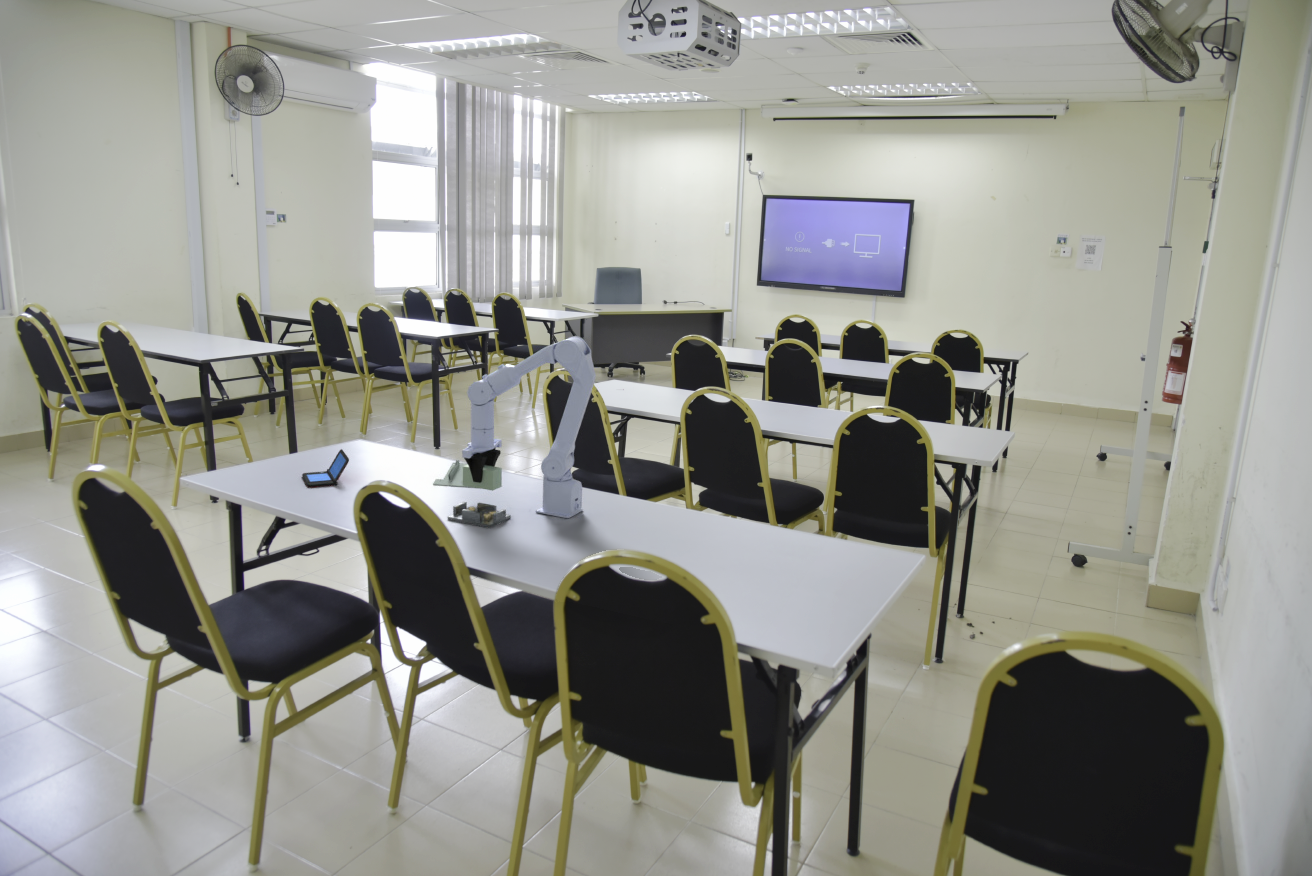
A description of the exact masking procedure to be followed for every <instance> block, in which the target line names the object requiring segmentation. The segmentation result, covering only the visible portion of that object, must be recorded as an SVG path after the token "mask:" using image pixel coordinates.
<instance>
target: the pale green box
mask: <svg viewBox="0 0 1312 876" xmlns="http://www.w3.org/2000/svg"><path fill="white" fill-rule="evenodd" d="M502 472H503V469H502V467H499V466H498V467H497V466H495V467H493V466H487V465H484V467H483V477H482V482H481V483H478V482H473V479H472V475H471V471H470V468H469V466H468V465H465V466H463V486H469V487H475V488H474V489H479V488H481V489H482V490H487V491H495V490H498V489H500V488H502V486H503V485H502V484H503V483H502V482H503V481H502V478H503V476H502V475H503V474H502ZM481 489H480V490H481Z"/></svg>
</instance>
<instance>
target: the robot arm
mask: <svg viewBox="0 0 1312 876" xmlns="http://www.w3.org/2000/svg"><path fill="white" fill-rule="evenodd" d="M546 364H551V365H552V364H553V365H555V364H559V365H560V366H561V367H562V368H564V369H565V370H566V371H568V374H569V375H570V377H571V378H572V380H573V383H572V385H571V389H570V393H569V395H568V398H567V402H566V404H565V408H564V411H563V414H562V417H561V420H560V423H559V426H558V429H557V431H556V432H557V433H556V436H555V439H554V441H553V443H552V445H551V447H550V449H549V452H548V454H547V455H546V457H544V458H543V460H542V462H541V464H540V465H541V466H540V470H541V472H542V474H543V475H542V476H543V478H542V480H543V481H542V507H539V508H538V509H536V510H535V513H539V514H544V515H548V516H554V517H559V518H566V519H570V518H572V517H574V516H576V515H577V514H579V513H580V512H583V510H584V509H583V507H582V504H583V485H582V482H581V481H579V480H576V479H574V478H573V474H572V471H571V469H572V468H573V466H574V464H575V456H574V455H575V454H574V453H575V449H576V440H577V437H578V434H579V430H580V428H581V425H582V422H583V419H584V415H585V413H586V409H587V406H588V403H589V401H590V398H591V395H592V391H593V388H594V385H595V381H596V378H597V376H596V375H597V374H596V371H595V366H594V362H593V358H592V349H591V348H590V346H589V345H588V344H587V342H586V341H585V340H584V339H583V338H582V337H581V336H578V335H575V336H569V337H568V338H567V339H562V340H561V341H558V342H555V343H552V344H549V345H547V346H545V347H543V348H542V349H539V350H538V351H537V352H535V353H533V354H532V355H530V356H528V357H526V358H525V359H523V360H521V362H519V363H517V364H514V365H513V364H510V363H507V364H505V365H504V363H502V364H500V365H498V366H497V369H496V370H495V371H493V372H490V373H489V374H487V373H485V374H484V375H482V377H481V378H482V379H480V380H477V381H476V380H475V381H473V382H472V383H471V384H470V385H469V387H468V389H467V391H466V393H467V398H468V399H469V402H470V442H467V447H465V448H463V449H462V450H461V453H462V455H461V456H462V457H461V458H463V460H465V462H466V463H467V464H468V466H469V468H470V471H471V475H472V479H473V482H478V483H481V482H482V477H483V467H484V465H487V466H493V467H496V463H497V462H498V459H499V458H500V455H501V454H502V453H501V451H502V450H499V449H497V448H502V444H503V443H502V442H503V441H502V440H503V439H500V438H495V399H496V397H498V396H501V395H503V394H505V393H506V392H508V391H509V390H511V389H513V388H515V387H517V386H519V385H520V383H521V380H522V377H523V376H526V375H527V374H529V373H530V372H533V371H534V370H536V369H538V368H540V367H541V366H543V365H546Z"/></svg>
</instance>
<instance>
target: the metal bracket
mask: <svg viewBox="0 0 1312 876" xmlns="http://www.w3.org/2000/svg"><path fill="white" fill-rule="evenodd" d="M465 465H468V464H467V462H466V463H465V462H460V460H459V459H456V460H455V462H452V463H451V465H450V467H449V469H448V470H447V472H446V474H445V476H444V477H443V479H442V478H436V479H435V480H434V481H433V484H432V485H433V486H434V487H435V486H439V487H453V488H455V487H456V488H471V489H476V488H475V487H469V486H463V466H465ZM478 489H480V490H481V488H478Z"/></svg>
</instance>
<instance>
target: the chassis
mask: <svg viewBox="0 0 1312 876" xmlns="http://www.w3.org/2000/svg"><path fill="white" fill-rule="evenodd" d="M467 505H468V504H467V501H462V502H460V503H457V504H455V505H453V507H452V510H453V511H452V514H451V515H448V516H447V520H448V521H452V522H457V523H461V524H465V525H466V524H467V525H472V526H477V527H481V528H486V529H487V528H488V529H491V528H493V527H495V526H497V525H499V524H502V523H504V522H506V521H507V520H510V519H511V517H512V515H511V514H507V509H504V508H502V509H499V510H498V511H497V505H493V504H490V503H484V502H477V508H476V507H475V506H469V507H468V506H467Z"/></svg>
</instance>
